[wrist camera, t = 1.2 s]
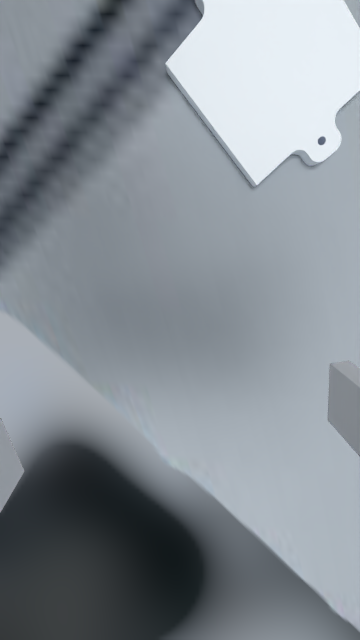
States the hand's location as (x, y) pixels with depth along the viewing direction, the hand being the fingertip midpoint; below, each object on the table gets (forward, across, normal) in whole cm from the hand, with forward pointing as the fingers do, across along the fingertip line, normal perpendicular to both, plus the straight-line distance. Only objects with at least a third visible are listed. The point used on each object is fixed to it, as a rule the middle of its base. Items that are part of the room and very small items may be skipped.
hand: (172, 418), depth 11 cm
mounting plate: (+21, +13, +19) cm, 31 cm away
